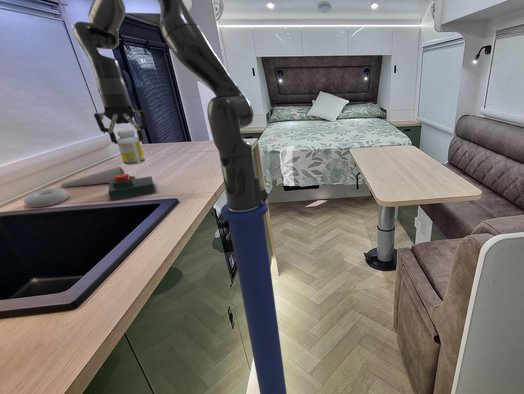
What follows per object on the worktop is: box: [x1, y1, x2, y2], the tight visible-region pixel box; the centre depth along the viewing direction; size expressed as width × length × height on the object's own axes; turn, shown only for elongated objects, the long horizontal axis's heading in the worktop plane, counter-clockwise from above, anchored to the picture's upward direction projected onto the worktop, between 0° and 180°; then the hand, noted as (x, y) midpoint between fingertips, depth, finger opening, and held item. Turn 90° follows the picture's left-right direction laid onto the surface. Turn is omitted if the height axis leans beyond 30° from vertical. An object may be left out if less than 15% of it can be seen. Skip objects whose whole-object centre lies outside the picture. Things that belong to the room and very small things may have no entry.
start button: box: [114, 173, 130, 182], centre depth 96 cm, size 4×4×2 cm
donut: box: [23, 187, 69, 208], centre depth 90 cm, size 10×4×10 cm
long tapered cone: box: [59, 165, 126, 188], centre depth 104 cm, size 6×6×19 cm
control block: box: [107, 175, 156, 202], centre depth 98 cm, size 12×10×5 cm
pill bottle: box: [116, 129, 146, 166], centre depth 103 cm, size 6×6×12 cm
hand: (128, 142), depth 102 cm, fingers closed on pill bottle, 6 cm apart
